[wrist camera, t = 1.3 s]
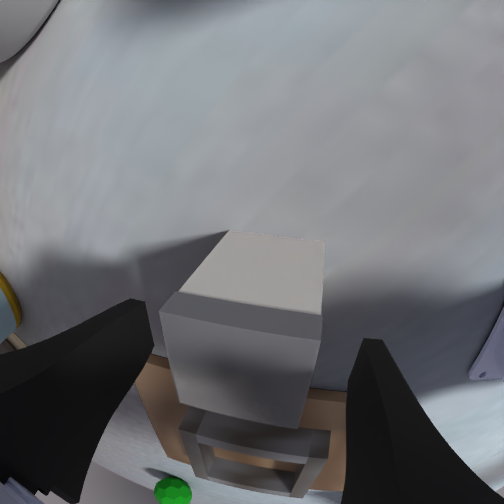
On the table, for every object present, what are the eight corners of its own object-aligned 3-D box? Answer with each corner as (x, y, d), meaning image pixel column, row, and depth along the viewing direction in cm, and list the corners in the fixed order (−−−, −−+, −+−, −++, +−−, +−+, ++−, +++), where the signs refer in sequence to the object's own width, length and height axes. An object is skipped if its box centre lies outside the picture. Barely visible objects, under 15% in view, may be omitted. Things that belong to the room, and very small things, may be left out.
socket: (410, 395, 14) (416, 435, 12) (343, 484, 21) (340, 509, 19) (130, 347, 18) (107, 377, 15) (170, 451, 25) (159, 473, 22)
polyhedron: (184, 475, 28) (171, 504, 24) (202, 489, 30) (191, 516, 25) (155, 468, 30) (141, 495, 26) (174, 483, 31) (162, 508, 27)
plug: (326, 240, 12) (320, 340, 6) (313, 320, 14) (297, 429, 8) (228, 228, 13) (158, 311, 7) (229, 307, 14) (179, 402, 9)
